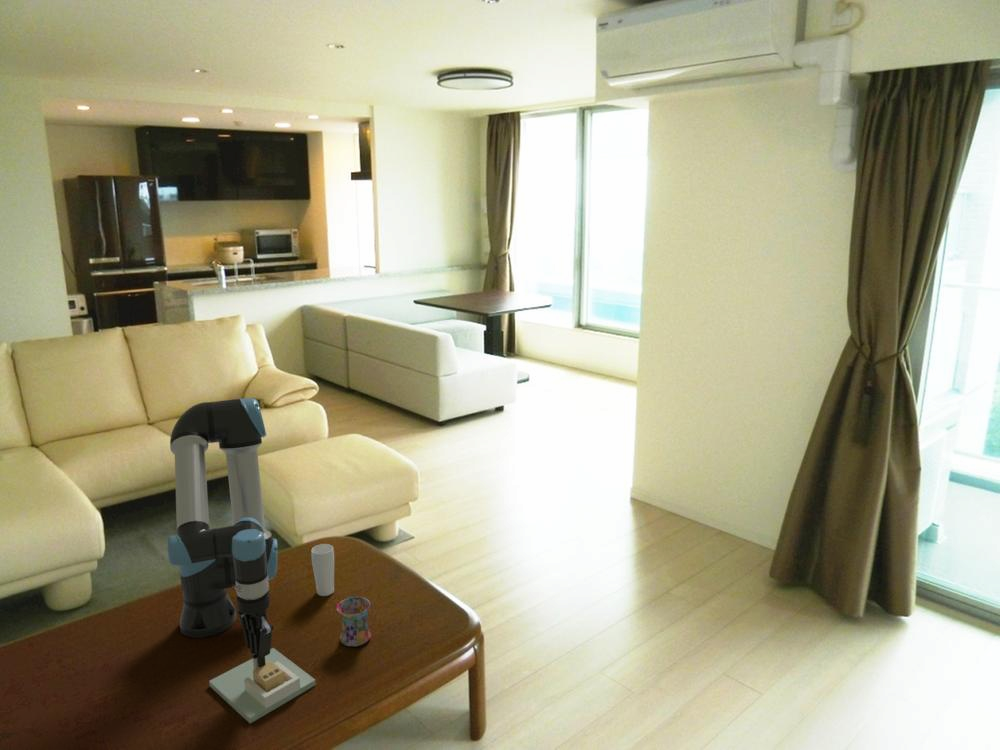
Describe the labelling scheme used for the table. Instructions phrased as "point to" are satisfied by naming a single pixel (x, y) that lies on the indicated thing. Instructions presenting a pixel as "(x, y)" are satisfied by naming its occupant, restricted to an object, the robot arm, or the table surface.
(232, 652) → the table surface
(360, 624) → the mug
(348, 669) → the table surface
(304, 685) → the board
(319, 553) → the drinking glass
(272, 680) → the plug
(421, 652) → the table surface
